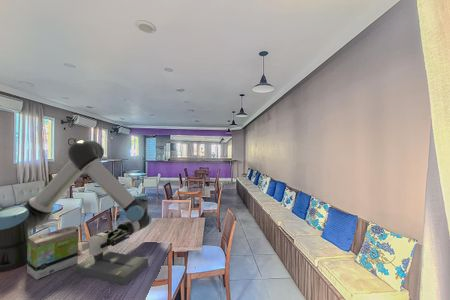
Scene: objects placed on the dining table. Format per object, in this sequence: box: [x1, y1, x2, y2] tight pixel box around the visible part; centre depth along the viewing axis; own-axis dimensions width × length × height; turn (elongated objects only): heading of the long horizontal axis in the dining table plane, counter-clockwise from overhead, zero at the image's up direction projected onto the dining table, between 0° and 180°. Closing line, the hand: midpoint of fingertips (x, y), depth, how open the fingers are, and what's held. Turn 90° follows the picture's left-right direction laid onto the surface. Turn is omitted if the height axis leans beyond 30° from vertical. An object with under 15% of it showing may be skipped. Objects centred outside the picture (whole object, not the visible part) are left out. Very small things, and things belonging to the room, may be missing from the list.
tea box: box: [26, 226, 79, 281], centre depth 93 cm, size 15×10×15 cm
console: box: [75, 250, 149, 286], centre depth 92 cm, size 25×14×3 cm, turn 73°
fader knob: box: [88, 232, 109, 260], centre depth 94 cm, size 4×6×10 cm, turn 163°
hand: (87, 248), depth 89 cm, fingers open, 5 cm apart
